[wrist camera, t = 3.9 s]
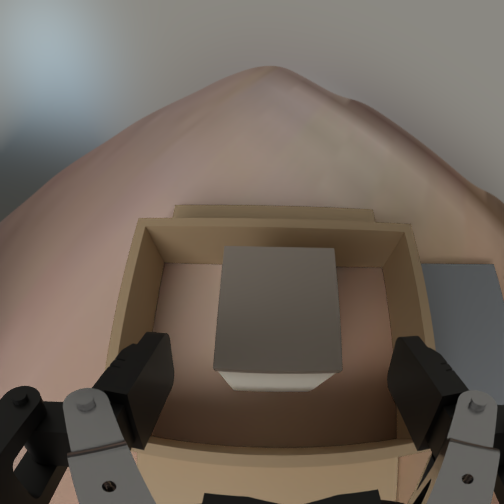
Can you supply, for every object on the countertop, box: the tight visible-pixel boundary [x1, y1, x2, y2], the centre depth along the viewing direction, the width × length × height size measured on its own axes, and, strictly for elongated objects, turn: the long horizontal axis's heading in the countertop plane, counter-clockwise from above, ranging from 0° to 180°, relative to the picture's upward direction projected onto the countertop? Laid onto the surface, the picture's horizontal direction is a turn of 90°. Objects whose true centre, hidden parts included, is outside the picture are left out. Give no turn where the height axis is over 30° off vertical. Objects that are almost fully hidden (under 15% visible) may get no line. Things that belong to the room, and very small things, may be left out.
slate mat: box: [421, 264, 504, 405], centre depth 18 cm, size 9×12×1 cm
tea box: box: [213, 246, 342, 392], centre depth 15 cm, size 5×5×8 cm
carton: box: [105, 205, 436, 504], centre depth 17 cm, size 17×22×4 cm
